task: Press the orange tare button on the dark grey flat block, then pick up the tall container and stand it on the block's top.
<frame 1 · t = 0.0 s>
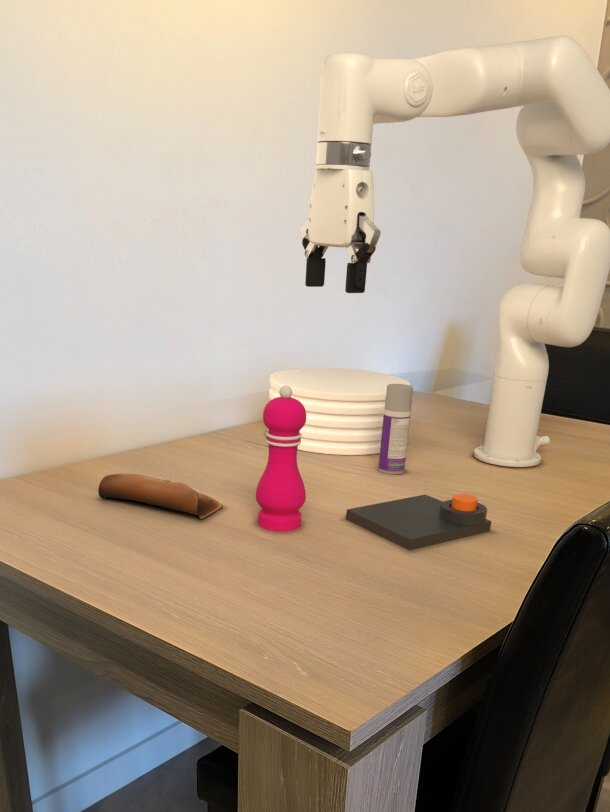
hand: (334, 289, 123), 31 cm above the table, tool pointing down, fingers open, 9 cm apart
sunglasses case: (161, 505, 127), on the table
plate stack: (335, 437, 170), on the table
dark grey flat block: (417, 525, 123), on the table
container: (391, 471, 149), on the table
pepper mill: (279, 525, 121), on the table
tare button: (464, 503, 121), point 4 cm above the table, slide at 0.1 cm
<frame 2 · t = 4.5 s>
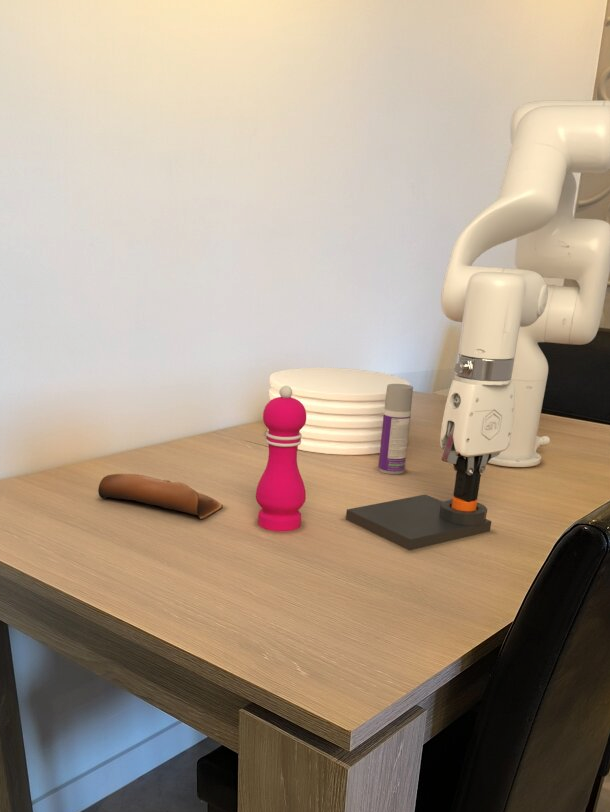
hand: (465, 498, 120), 5 cm above the table, tool pointing down, fingers closed
tare button: (464, 504, 121), point 4 cm above the table, slide at 0.0 cm, touching gripper
everything else where it was.
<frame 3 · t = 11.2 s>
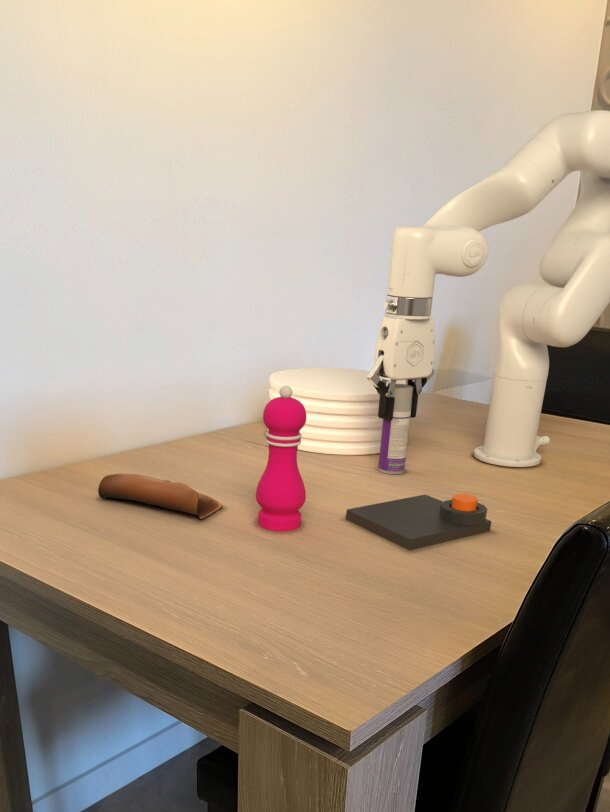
hand: (396, 416, 144), 10 cm above the table, tool pointing down, fingers closed on container, 4 cm apart
container: (391, 471, 149), on the table, touching gripper
tare button: (464, 503, 121), point 4 cm above the table, slide at 0.1 cm
everything else where it was.
when the fingers open (11 cm above the table, at t = 19.3 s): container stays where it is, resting on dark grey flat block.
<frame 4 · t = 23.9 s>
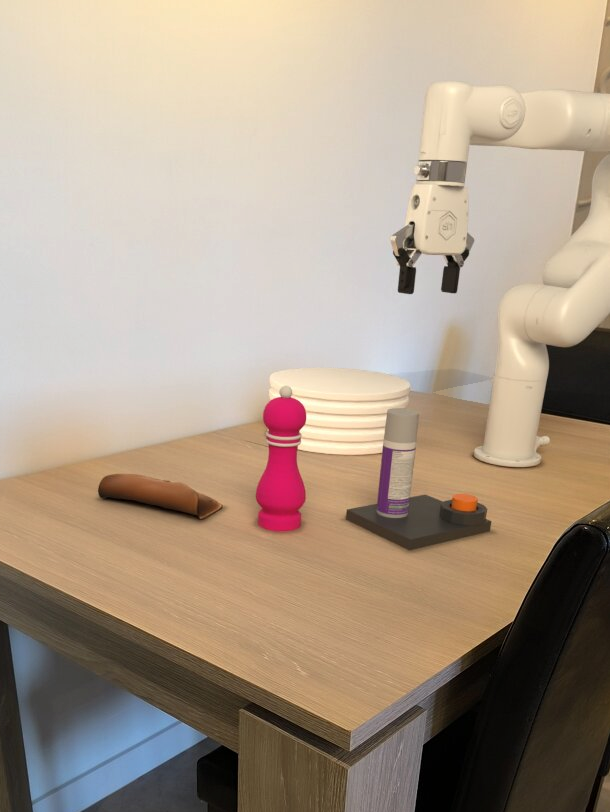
hand: (427, 292, 135), 30 cm above the table, tool pointing down, fingers open, 9 cm apart
container: (392, 514, 122), point 2 cm above the table, touching dark grey flat block
everything else where it was.
at the end: tare button pushed in 1.1 cm at the most during the clip, back to where it started at the end; container inside the target area on the dark grey flat block (3.9 cm from its centre), point 1.5 cm above the dark grey flat block's base; container touching dark grey flat block; container tilted 0° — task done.
